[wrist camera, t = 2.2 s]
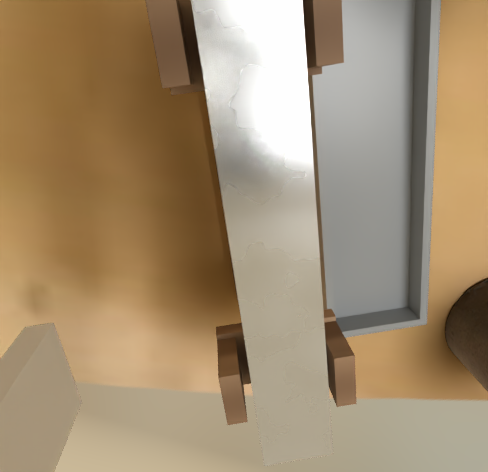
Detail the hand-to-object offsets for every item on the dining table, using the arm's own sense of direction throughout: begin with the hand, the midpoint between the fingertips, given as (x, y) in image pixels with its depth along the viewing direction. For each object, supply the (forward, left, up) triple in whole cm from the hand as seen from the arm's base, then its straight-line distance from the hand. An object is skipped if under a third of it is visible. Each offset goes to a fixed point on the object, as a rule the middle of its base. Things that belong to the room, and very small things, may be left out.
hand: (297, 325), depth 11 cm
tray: (0, +9, -20) cm, 22 cm away
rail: (0, 0, -9) cm, 9 cm away
